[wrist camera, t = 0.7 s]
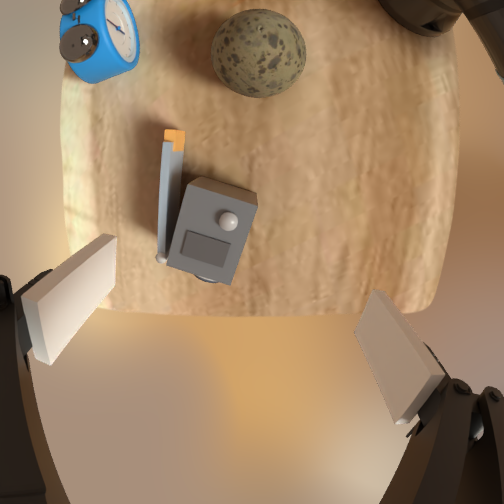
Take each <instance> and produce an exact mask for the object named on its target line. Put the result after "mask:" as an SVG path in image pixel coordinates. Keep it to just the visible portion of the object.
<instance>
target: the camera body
mask: <svg viewBox="0 0 504 504" xmlns="http://www.w3.org/2000/svg"><path fill="white" fill-rule="evenodd" d="M257 208H258V202H257V195H256V193H253V192H250V191H247V190H244V189H241V188H238V187H235V186H232V185H229V184H226V183H223V182H219V181H216V180H213V179H210V178H206V177H203V176H200V177H198V178H197V179H195V180H193V181H192V182H190V183H188V185H187V188H186V191H185V195H184V198H183V202H182V206H181V209H180V213H179V217H178V220H177V224H176V228H175V232H174V236H173V240H172V244H171V248H170V252H169V256H168V260H167V264H166V265H167V266H170V267H173V268H176V269H179V270H182V271H185V272H189V273H192V274H194V275H195V276H196V277H197V278H198V279H200V280H202V281H205V282H209V283H218V282H220V283H224V284H227V285H231V282H232V279H233V276H234V273H235V271H236V268H237V265H238V262H239V259H240V256H241V253H242V250H243V248H244V245H245V242H246V239H247V236H248V233H249V230H250V228H251V225H252V222H253V219H254V216H255V213H256V211H257Z"/></svg>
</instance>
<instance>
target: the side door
mask: <svg viewBox="0 0 504 504" xmlns="http://www.w3.org/2000/svg"><path fill="white" fill-rule="evenodd" d="M184 142H185V132H184V131H179V130H166V129H165V134H164V142H163V147H162V159H161V173H160V189H159V210H158V253H157V255H156V261H157V262H158V263H165V261H166V260H167V259H168V256H169V252H170V248H171V244H172V240H173V236H174V232H175V228H176V224H177V220H178V217H179V206H180V190H181V177H182V165H183V154H184Z"/></svg>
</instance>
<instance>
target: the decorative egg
mask: <svg viewBox="0 0 504 504" xmlns="http://www.w3.org/2000/svg"><path fill="white" fill-rule="evenodd" d="M211 61H212V65H213V68H214V70H215V73H216V74H217V76H218V77H219V79H220V80H221V81H222V82H223V83H224V84H225V85H226V86H227V87H228V88H230V89H231V90H233V91H234V92H236V93H239V94H241V95H244V96H248V97H255V98H262V97H270V96H273V95H276V94H279V93H281V92H283V91H285V90H287V89H288V88H289V87H291V86H292V85H293V84H294V83H295V82H296V81H297V79H298V78H299V77H300V75H301V73H302V71H303V69H304V66H305V61H306V47H305V42H304V39H303V37H302V35H301V33H300V31H299V30H298V28H297V27H296V26H295V25H294V24H293V23H292V22H291V21H290V20H289V19H288V18H286V17H285V16H283V15H281V14H279V13H277V12H274V11H271V10H266V9H250V10H246V11H242V12H240V13H237V14H235V15H233V16H232V17H230V18H229V19H228V20H226V21H225V22H224V23H223V24H222V25H221V27H220V28H219V29H218V31H217V32H216V34H215V36H214V39H213V42H212V47H211Z"/></svg>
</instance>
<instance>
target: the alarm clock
mask: <svg viewBox="0 0 504 504" xmlns="http://www.w3.org/2000/svg"><path fill="white" fill-rule="evenodd" d="M60 11H61V13H62V14H63V15H62V18H61V22H60V53H61V55H62V57H63V58H64V59H65V60H66V61H67V62H68V64H69V65H70V67H71V68H72V70H73V71H74V72H75V74H76V75H77V76H78V77H79V78H81V79H82V80H83V81H85V82H87V83H91V84H95V83H99V82H101V81H103V80H106V79H108V78H111V77H113V76H116V75H119V74H121V73H124V72H127V71H129V70H132V69H133V68H134V67H135V66H136V65H137V63H138V59H139V53H140V44H139V35H138V30H137V26H136V22H135V19H134V16H133V13H132V11H131V8H130V6H129V4H128V2H127V1H126V0H62V2H61V4H60Z"/></svg>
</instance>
